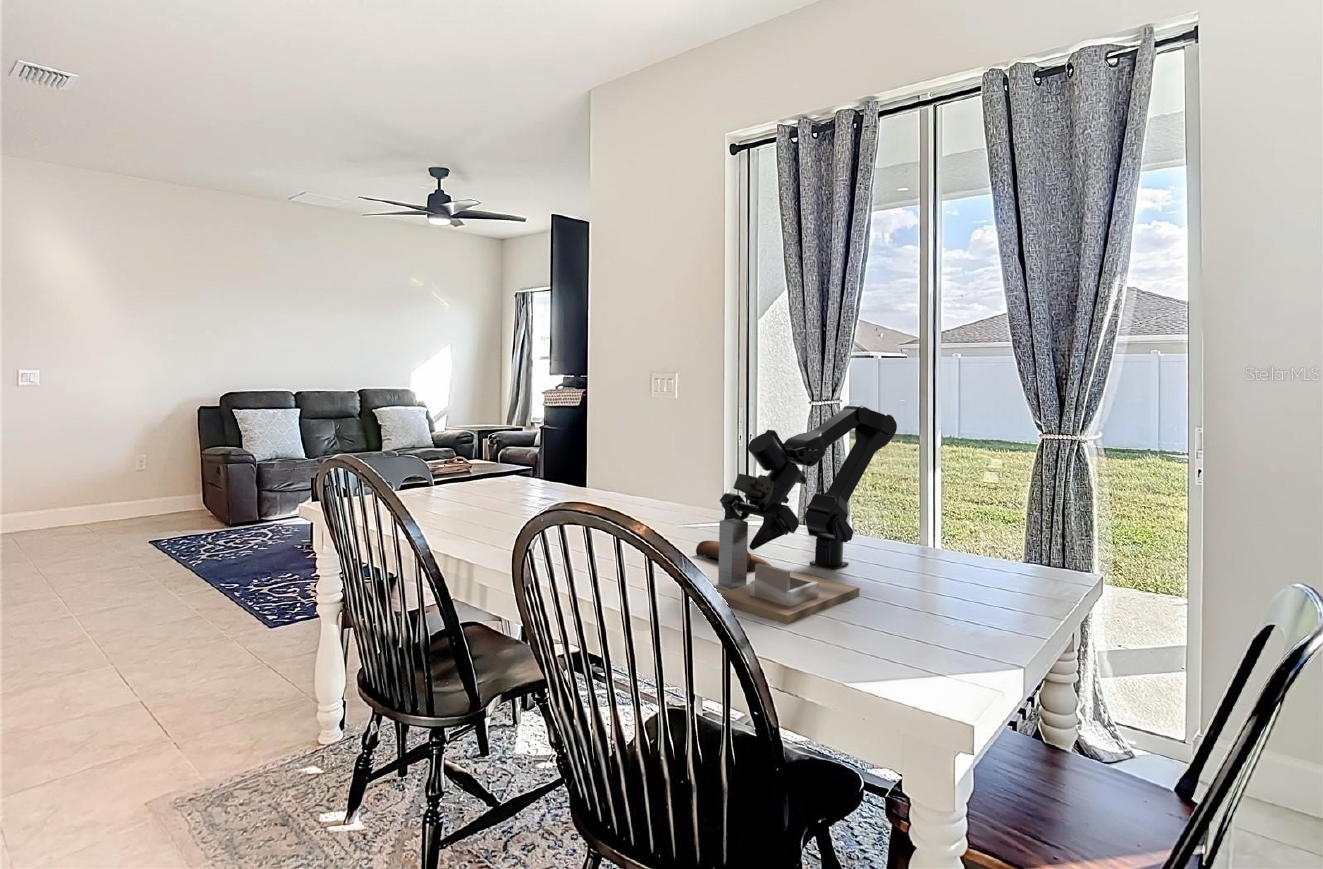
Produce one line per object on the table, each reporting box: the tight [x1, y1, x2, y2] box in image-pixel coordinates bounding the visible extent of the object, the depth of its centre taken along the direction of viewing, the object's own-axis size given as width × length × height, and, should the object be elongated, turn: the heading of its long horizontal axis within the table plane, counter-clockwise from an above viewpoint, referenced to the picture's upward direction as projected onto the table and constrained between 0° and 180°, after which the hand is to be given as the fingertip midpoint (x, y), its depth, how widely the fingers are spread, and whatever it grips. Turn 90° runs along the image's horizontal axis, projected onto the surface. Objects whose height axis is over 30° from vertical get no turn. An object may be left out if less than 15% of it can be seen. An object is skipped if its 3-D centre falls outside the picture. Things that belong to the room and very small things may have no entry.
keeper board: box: [720, 563, 861, 625], centre depth 136 cm, size 24×16×8 cm, turn 135°
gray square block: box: [717, 519, 749, 590], centre depth 144 cm, size 4×4×13 cm
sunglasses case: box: [695, 540, 774, 573], centre depth 163 cm, size 18×7×7 cm
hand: (735, 543), depth 144 cm, fingers open, 9 cm apart
